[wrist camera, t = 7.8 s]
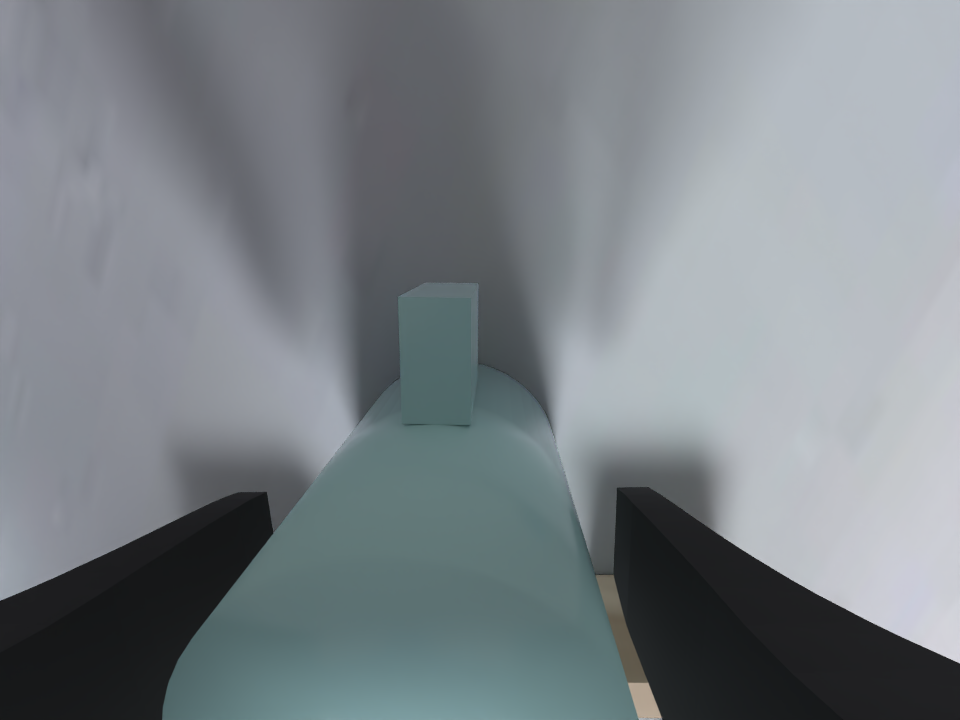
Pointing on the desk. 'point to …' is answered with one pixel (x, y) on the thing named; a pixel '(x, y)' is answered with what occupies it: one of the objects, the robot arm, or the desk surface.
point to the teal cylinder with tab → (420, 564)
